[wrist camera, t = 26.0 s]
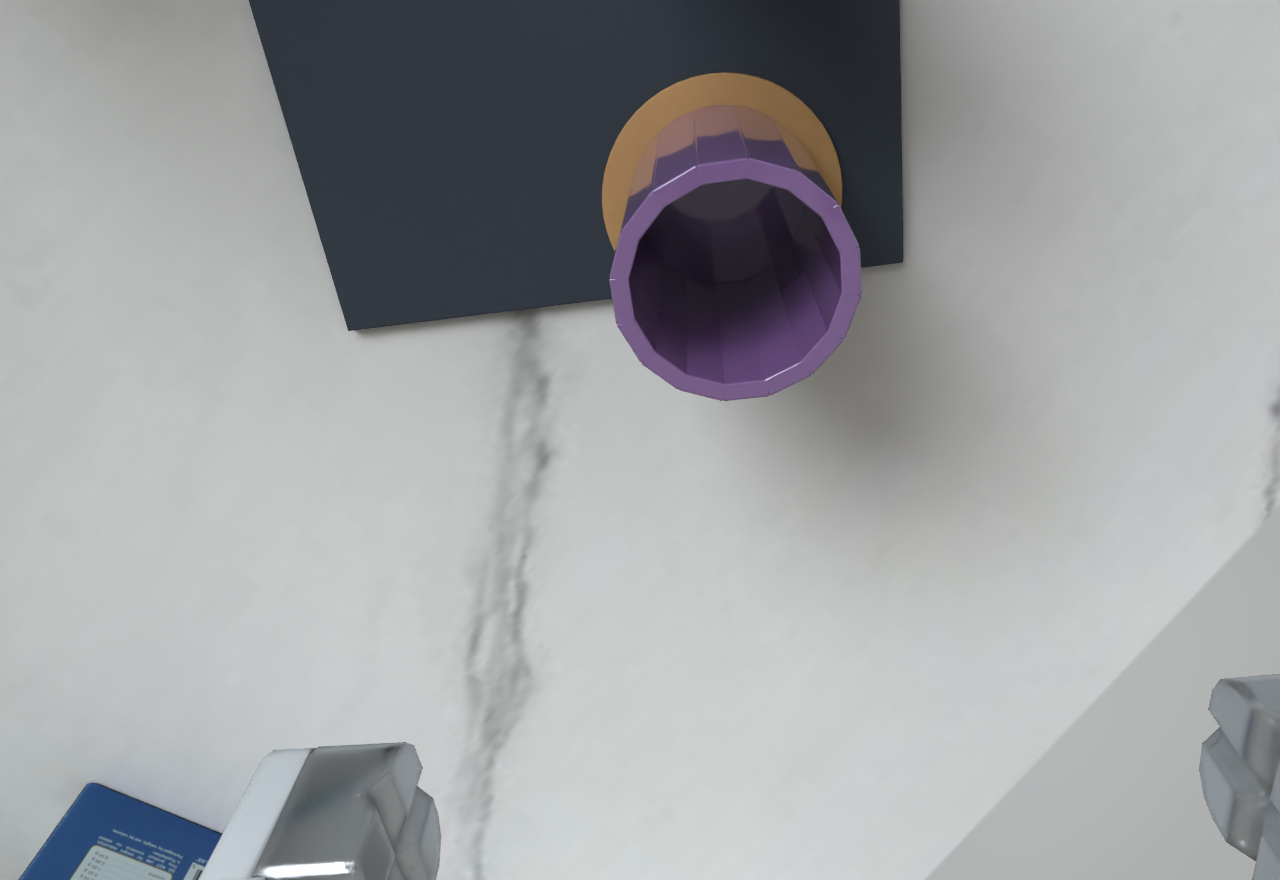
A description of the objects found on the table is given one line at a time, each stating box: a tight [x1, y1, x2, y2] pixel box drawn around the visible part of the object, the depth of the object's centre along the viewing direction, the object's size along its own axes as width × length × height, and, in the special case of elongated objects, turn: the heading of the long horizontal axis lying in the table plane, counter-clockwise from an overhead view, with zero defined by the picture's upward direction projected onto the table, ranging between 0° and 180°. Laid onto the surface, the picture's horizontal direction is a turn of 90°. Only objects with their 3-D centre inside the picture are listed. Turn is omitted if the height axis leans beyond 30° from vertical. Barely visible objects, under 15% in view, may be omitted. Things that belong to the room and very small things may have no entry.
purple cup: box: [609, 105, 862, 401], centre depth 27 cm, size 6×6×9 cm
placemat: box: [249, 0, 903, 331], centre depth 29 cm, size 20×20×1 cm
